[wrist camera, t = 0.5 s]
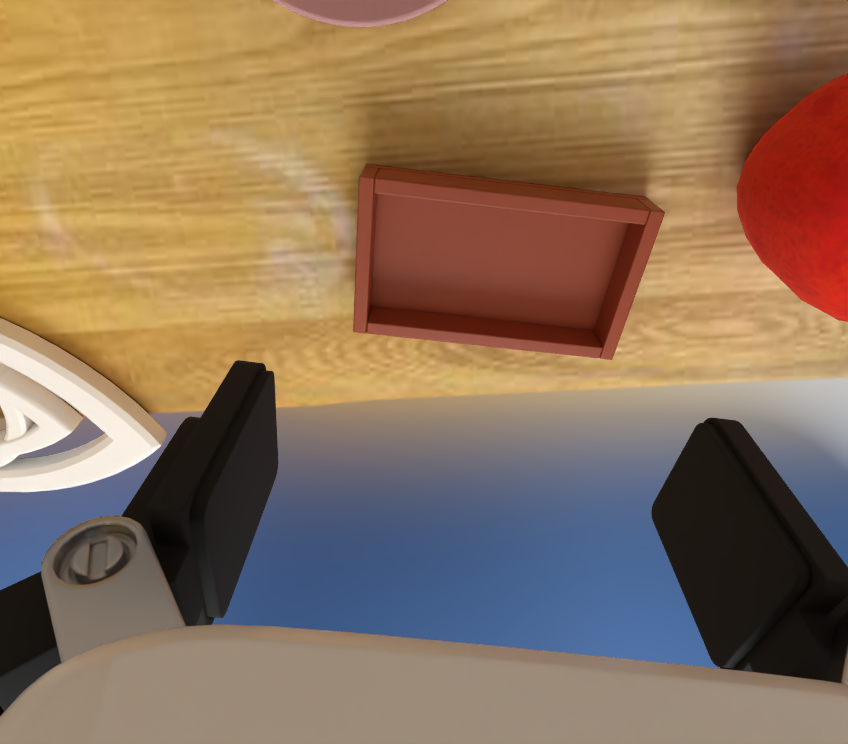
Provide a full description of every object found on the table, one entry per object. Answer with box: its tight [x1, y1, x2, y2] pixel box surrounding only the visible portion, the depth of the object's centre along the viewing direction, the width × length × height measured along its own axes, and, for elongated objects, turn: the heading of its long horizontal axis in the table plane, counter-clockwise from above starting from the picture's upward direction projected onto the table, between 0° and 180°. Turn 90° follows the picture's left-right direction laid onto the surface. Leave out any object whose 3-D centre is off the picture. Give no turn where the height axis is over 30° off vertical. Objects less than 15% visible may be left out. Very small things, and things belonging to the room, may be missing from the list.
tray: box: [353, 164, 665, 360], centre depth 27 cm, size 14×8×3 cm, turn 84°
